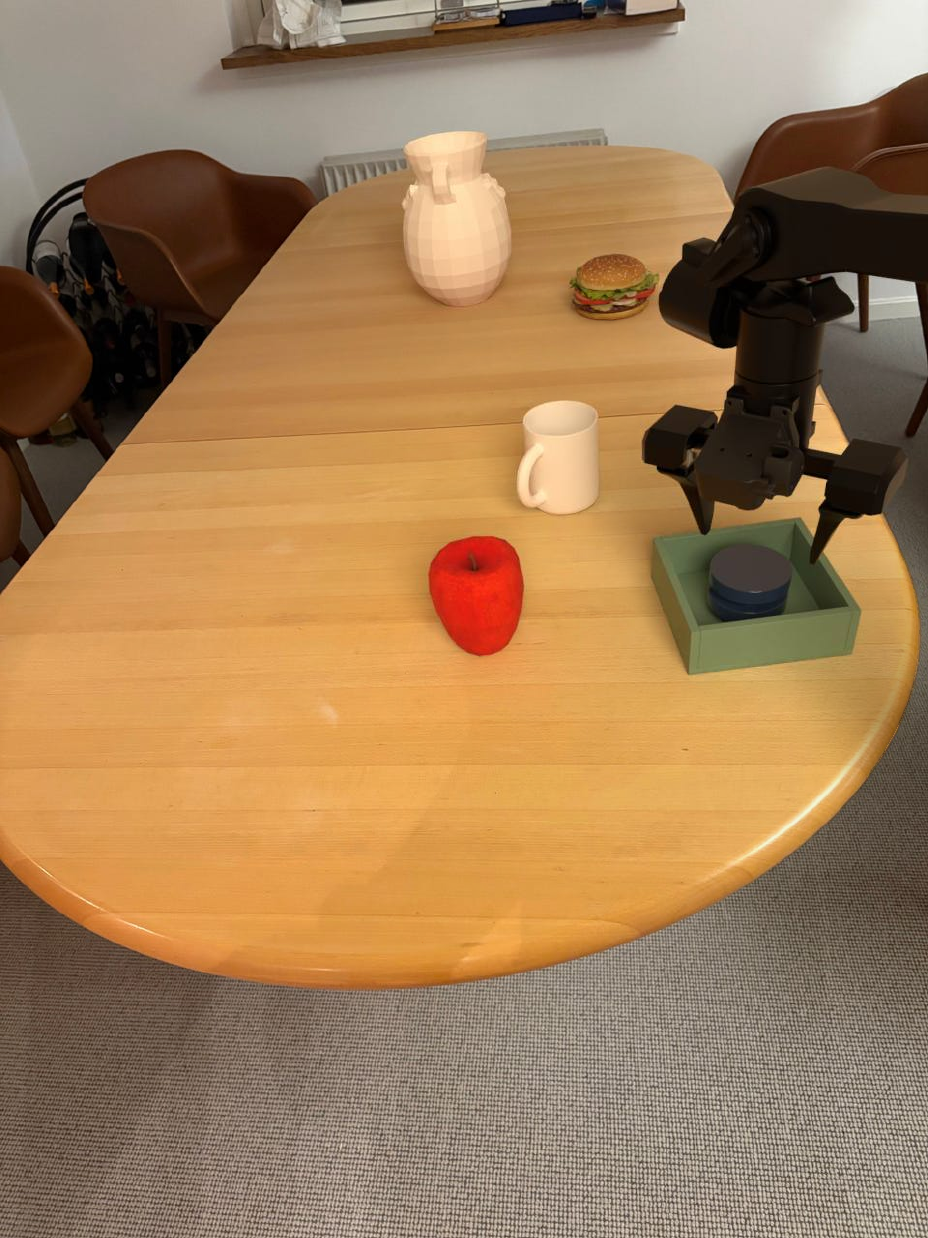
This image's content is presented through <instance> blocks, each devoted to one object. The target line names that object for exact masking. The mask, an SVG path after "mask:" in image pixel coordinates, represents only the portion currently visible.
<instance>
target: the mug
mask: <svg viewBox="0 0 928 1238" xmlns="http://www.w3.org/2000/svg"><path fill="white" fill-rule="evenodd" d="M522 431H523V444H524V454H523V456H522V459H521V460H520V463H519V466H518V469H517V470H518V471H517V474H516V493H517V496H518V499H519V501H520V503H521V504H522V505H523V506H524V507H526V508H530V509H531V508H532V509H533V508H536V509H538V510H539V511H542V512H544V513H545V514H546V513H547V514H550V515H557V516H567V515H574V514H577V513H581V512H583V511H586V510H587V509H589V508H590V507H591V506H593V505H594V504H595V503H596V501H597V499H598V498H599V496H600V487H601V485H600V484H601V483H600V481H601V480H600V479H601V477H600V476H601V475H600V444H599V443H600V437H599V436H600V435H599V433H600V429H599V413H598V411H597V410H596V409H595V407H593V406H591V405H590V404H588V403H585V402H582V401H577V400H569V399H568V400H567V399H566V400H564V399H563V400H554V401H548V402H545V403H541V404H538V405H536V406H534V407H532V408H531V409H529V410H528V411H527V412H526V413H525V414H524V416H523V417H522Z"/></svg>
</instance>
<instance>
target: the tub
mask: <svg viewBox="0 0 928 1238" xmlns="http://www.w3.org/2000/svg"><path fill="white" fill-rule="evenodd" d="M813 539H814V535H813V534H812V532H811V531H810V529H809V528H808V525H806V523H805V521H804V520H803V518H802V517H800V516H797V517H793V518H792V517H791V518H784V519H777V520H769V521H761V522H754V523H745V524H739V525H731V526H723V527H716V528H711V529H710V531H709V532H708V534H707V535H702V534H701V533H700V531H699V530H695V531H694V530H692V531H686V532H679V533H678V532H677V533H671V534H666V535H664V534H663V535H655V536H652V541H651V543H652V545H651V546H652V547H651V580H652V582H653V585H654V587H655V591H656V593H657V595H658V599H659V601H660V604H661V606H662V609H663V611H664V614H665V617H666V619H667V622H668V625H669V627H670V630H671V632H672V636H673V638H674V640H675V643H676V646H677V648H678V651H679V654H680V656H681V659H682V661H683V664H684V666H685V669H686V672H687V675H688V676H693V675H701V674H709V673H717V672H718V673H719V672H725V671H731V670H733V671H734V670H740V669H747V668H756V667H763V666H771V665H779V664H785V663H787V664H788V663H793V662H802V661H809V660H816V659H817V660H818V659H825V658H833V657H841V656H849V655H852V654H853V651H854V647H855V642H856V637H857V633H858V630H859V625H860V620H861V616H862V609H861V607H860V606H859V604H858V603H857V601H856V599H855V598H854V596H853V595H852V594H851V592H850V590H849V589H848V587H847V586H846V584H845V583H844V581H843V579H842V578H841V576H840V575H839V573H838V572H837V571H836V569H835V568H834V566H833V564H832V563H831V561H830V559H829V558H828V557H827V555H826V553H825V552H824V551H823V553H822V554H821V556H820V558H819V559H818V561H817V562H816V564H815V565H812V564H810V563H809V561H810V550H811V546H812V543H813ZM745 544H750V545H760V546H765V547H768V548H771V549H774V550H776V551H778V552H779V553H781V554H782V555H784V556H785V557H786V558H787V559H788V560H789V562H790V564H791V566H792V578H791V584H790V588H789V590H788V599H787V605H786V609H785V611H784V612H783V614H782V615H779V616H771V617H764V618H756V619H748V620H741V621H733V622H729V621H726V620H724V619H722V618H720V617H719V616H717V615H716V614H715V613H714V612H713V611H712V610H711V609H710V607H709V605H708V603H707V591H708V583H709V572H710V563H711V560H712V559H713V557H714V556H715V555H716V554H717V553H718V552H720V551H721V550H723V549H725V548H728V547H731V546H736V545H745Z"/></svg>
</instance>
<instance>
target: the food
mask: <svg viewBox="0 0 928 1238" xmlns="http://www.w3.org/2000/svg"><path fill="white" fill-rule="evenodd" d="M648 268H649V267H646V266H645V264H644V263H643V262H642V261H641V260H639V259H638V258H636V257H633V256H631V255H628V254H622V253H611V254H603V255H599V256H596V257H592V258H591V259H589V260H588V261H586V262H585V263H584V264H582V265H581V266H578V267H577V268H576V276H575V277H574V278H573V279H572V278H571V280H570V282H569V285H571V286H570V287H569V290H571V289H573V293H572V294H571V298H572V300H571V301H572V304H573V305H574V306H575V309H576V310H577V312H578V314H579V315H581V316H584V317H586V318H589V319H595V320H608V321H609V320H613V321H614V320H616V319H617V320H618V319H625V318H629V317H631V316H635V315H637V314H639V313H640V312H643V311H644V310H645V309H646V308H647V307H648V303H649V300H648V298H649V297H650V296H651V295H653V294H654V292H656V287H657V286H656V285H659V283H660V274H659V273H658V272H657V273H654V274H653V273H652V272H651V270H648Z"/></svg>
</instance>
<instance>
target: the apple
mask: <svg viewBox="0 0 928 1238" xmlns="http://www.w3.org/2000/svg"><path fill="white" fill-rule="evenodd" d="M427 575H428V591H429V594H430V598H431V601H432V604H433V607H434V610H435V613H436V615H437V616H438V618H439V621H440V622H441V624H442V626H443V627H444V629H445V631H446V633H447V634H448V636H449V637H450V639H451V640H452V641H453V642H454V643H455V644H456V645H457V646H458V647H459V648H461V649H462V650H464V651H465V652H466V653H468V654H471V655H473V656H477V657H484V656H492V655H494V654H496V653H498V652H500V651H502V650H503V649H504V648H506V646H508V645H509V644H510V642H511V640H512V639H513V637H514V636H515V633H516V632H517V630H518V626H519V622H520V619H521V614H522V609H523V600H524V590H525V583H524V576H523V571H522V565H521V560H520V556H519V555H518V552H517V550H516V548H515V547H514V546H513V545H512V544H511V543H509V542H508V541H507V540H506V539H503V538H500V537H497V536H494V535H472V536H469V537H465V538H460V539H458V540H451V541H450V542H448V543H447V544H446V545H445V546H443V547H442V548H440V549H439V550H438V552H437V553H436V555H434V558H433V559H432V560H431V562H430V565H429V569H428V574H427Z"/></svg>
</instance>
